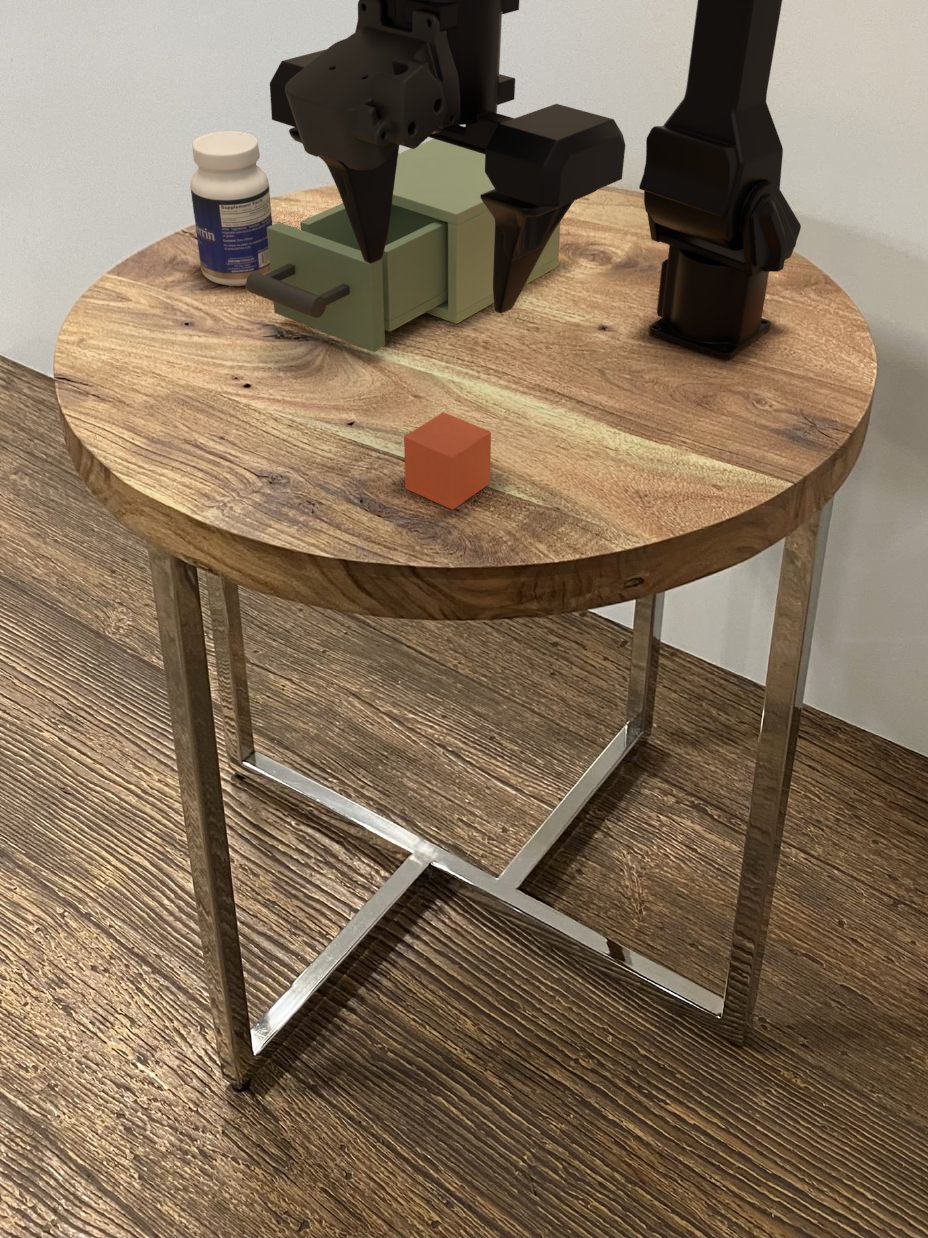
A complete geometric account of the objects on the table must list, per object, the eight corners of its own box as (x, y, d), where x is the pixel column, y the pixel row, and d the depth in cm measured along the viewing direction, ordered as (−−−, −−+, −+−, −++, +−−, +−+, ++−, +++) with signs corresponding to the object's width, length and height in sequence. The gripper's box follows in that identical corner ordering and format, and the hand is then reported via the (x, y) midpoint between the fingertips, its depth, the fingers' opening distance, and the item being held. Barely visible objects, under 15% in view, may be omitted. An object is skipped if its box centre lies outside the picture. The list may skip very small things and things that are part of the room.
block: (490, 483, 77) (491, 431, 75) (452, 510, 75) (452, 457, 73) (443, 463, 79) (443, 411, 77) (404, 489, 77) (403, 436, 75)
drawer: (334, 374, 86) (328, 284, 82) (234, 332, 90) (224, 245, 86) (478, 294, 95) (479, 210, 91) (381, 260, 100) (378, 178, 96)
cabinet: (456, 324, 93) (456, 214, 88) (346, 283, 98) (341, 177, 93) (558, 266, 101) (563, 162, 96) (451, 231, 106) (451, 131, 101)
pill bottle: (193, 263, 101) (176, 133, 95) (264, 252, 103) (252, 123, 96) (212, 293, 97) (196, 159, 91) (286, 281, 99) (275, 148, 92)
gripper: (172, -44, 60) (204, 279, 69) (488, 33, 50) (474, 395, 60) (343, -75, 67) (350, 223, 76) (648, -12, 57) (613, 319, 67)
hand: (436, 285), depth 70 cm, fingers open, 9 cm apart
